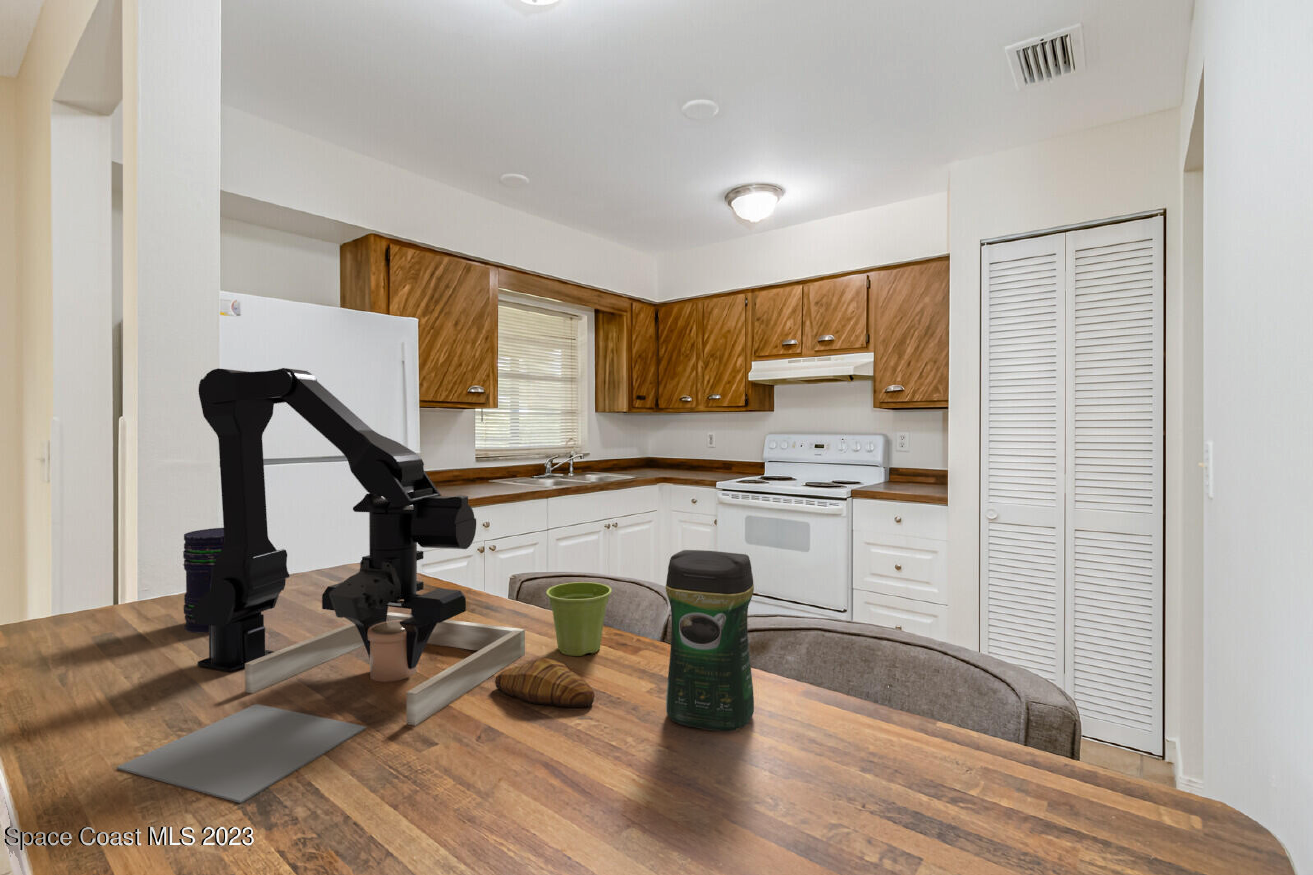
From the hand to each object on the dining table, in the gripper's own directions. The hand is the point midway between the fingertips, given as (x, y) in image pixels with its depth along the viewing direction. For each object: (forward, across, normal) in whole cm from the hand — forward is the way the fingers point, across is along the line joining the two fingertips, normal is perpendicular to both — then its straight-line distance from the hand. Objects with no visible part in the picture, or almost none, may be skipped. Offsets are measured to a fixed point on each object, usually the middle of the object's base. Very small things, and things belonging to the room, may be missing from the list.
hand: (393, 665), depth 81 cm
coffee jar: (+1, +42, +2) cm, 42 cm away
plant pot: (+1, +19, +16) cm, 25 cm away
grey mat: (+1, 0, -20) cm, 20 cm away
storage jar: (+1, -41, +7) cm, 42 cm away
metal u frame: (+1, 0, 0) cm, 1 cm away
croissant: (+2, +22, 0) cm, 22 cm away
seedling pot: (+1, 0, 0) cm, 1 cm away
